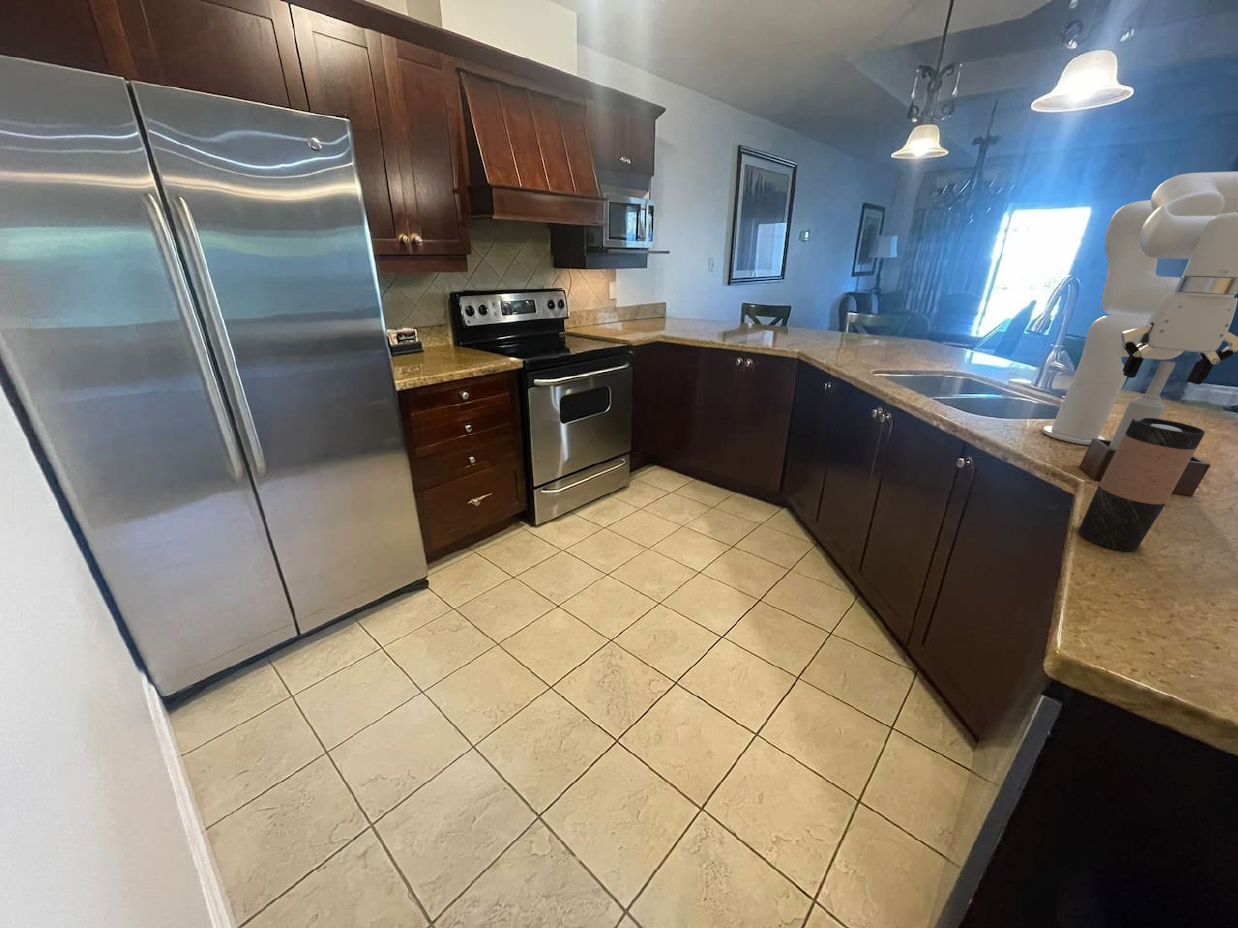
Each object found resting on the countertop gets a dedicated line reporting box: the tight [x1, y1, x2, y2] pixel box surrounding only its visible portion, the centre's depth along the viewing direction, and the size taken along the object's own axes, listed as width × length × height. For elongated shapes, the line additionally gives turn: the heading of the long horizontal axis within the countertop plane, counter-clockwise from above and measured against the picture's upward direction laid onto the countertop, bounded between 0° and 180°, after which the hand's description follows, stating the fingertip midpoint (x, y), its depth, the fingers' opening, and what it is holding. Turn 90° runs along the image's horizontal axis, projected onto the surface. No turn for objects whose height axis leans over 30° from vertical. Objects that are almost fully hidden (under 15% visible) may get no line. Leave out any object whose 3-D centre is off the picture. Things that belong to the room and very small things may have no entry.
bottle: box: [1109, 360, 1177, 450], centre depth 97 cm, size 5×5×25 cm
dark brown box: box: [1078, 438, 1211, 497], centre depth 100 cm, size 8×15×7 cm, turn 65°
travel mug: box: [1078, 418, 1206, 552], centre depth 74 cm, size 8×8×20 cm
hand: (1160, 379), depth 94 cm, fingers open, 9 cm apart
